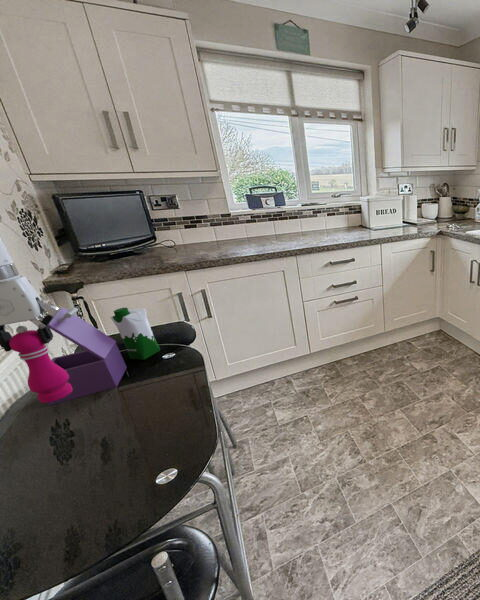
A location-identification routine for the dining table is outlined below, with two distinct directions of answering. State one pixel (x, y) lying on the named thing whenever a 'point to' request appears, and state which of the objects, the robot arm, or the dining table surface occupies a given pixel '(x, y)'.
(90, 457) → the dining table surface
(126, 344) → the milk carton
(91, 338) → the lid
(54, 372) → the pepper mill
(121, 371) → the box
